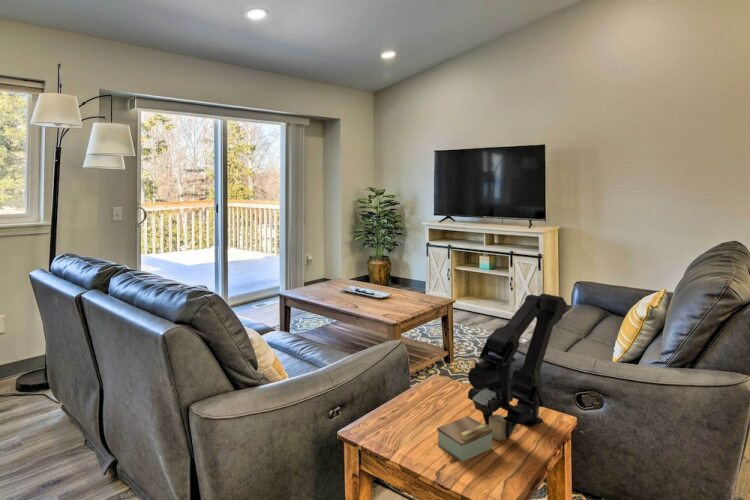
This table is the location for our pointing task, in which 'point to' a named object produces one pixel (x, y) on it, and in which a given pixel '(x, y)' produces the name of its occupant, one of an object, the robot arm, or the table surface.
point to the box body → (465, 446)
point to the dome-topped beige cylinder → (497, 427)
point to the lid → (465, 430)
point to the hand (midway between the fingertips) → (497, 432)
